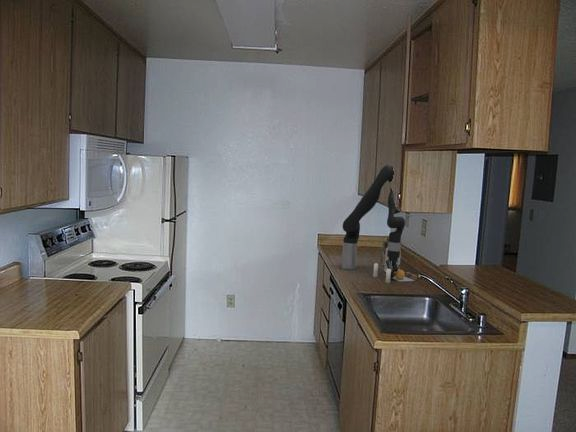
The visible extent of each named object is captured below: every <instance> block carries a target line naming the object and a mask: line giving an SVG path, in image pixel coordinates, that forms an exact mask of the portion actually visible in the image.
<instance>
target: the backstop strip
mask: <svg viewBox="0 0 576 432" xmlns="http://www.w3.org/2000/svg"><path fill="white" fill-rule="evenodd" d="M404 273H405V277H407V278H410V279H412V280H414V281H413V282H416V281H418V275H416V274H413V273H411V272H410V271H404Z"/></svg>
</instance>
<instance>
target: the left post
mask: <svg viewBox="0 0 576 432" xmlns="http://www.w3.org/2000/svg"><path fill="white" fill-rule="evenodd" d="M378 273H379V263H376V262H375V263H373V273H372V276H373V278H378V275H379V274H378Z"/></svg>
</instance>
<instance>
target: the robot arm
mask: <svg viewBox="0 0 576 432" xmlns="http://www.w3.org/2000/svg"><path fill="white" fill-rule="evenodd" d="M393 167H394V166H393V165H389V164H386V165H384V166H383V167H382V168H381V169H380V171H379V172H378V174H377V176H376V178H375V179H374V180H373V182H372V183H371V185H370V186H369V188H368V190H366V192H365V193H364V194H363V196H362V197H361V199H360V201H359V202H358V203H357V204H356V206H355V207H354V209H353V210H352V212H350V214H349V215H348V216H347V217H346V218H345V219H344V221H343V222H342V230H343V231H344V232H345V236H344V237H343V238H342V239H343V241H342V256H341V269H342V270H347V271H348V270H349V271H351V270H353V271H354V270H356V266H357V255H358V252H357V250H358V242H359V241H358V240H359V238H360V231H361V223H360V221H361V219H362V218H364V217H365V216H366V215H367V214H368V213H369V212H370V211H371V210H372V209H374V207H375V205H376V204H377V203H378V202H379V199H380V196H381V191H382V188H383V186H384V185H385V184H386V183H387V181H388V183H389V184H390V182H391V181H392V179H393V175H394V171H393ZM389 189H390V190H389V194H388V196H387V207H388V212H387V213H388V214H387V218H386V219H387V220H386V224H387V225H386V226H387V227H388V228H389V229H395V230H394V231H391V232H389V234H388V242H389V243H388V250H387V257H389V258H388V261H386V264H387V267H388V269H391V277H390V279H392V278H394V277H395V274H394V272H395V271H397V270H398V268H399V267H400V268H401V263H400V264H398V258H399V257H400V258H401V256H400V250H401V242H402V241H401V240H402V234H403V231H404V228H405V226H406V220H405V218H404V217H403V216H395V215H397V214H399V213H400V212H401V210H400V211H398V210H397V209H396V207H395V203H394V194H393V191H392V189H391V187H390V186H389ZM400 268H399V269H400Z"/></svg>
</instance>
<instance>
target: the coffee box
mask: <svg viewBox="0 0 576 432" xmlns="http://www.w3.org/2000/svg"><path fill="white" fill-rule="evenodd" d="M388 243H389V241H382V242H381V256H380V257H381V258H380V265H381V266H384V267H385V254H386V248H387V247H388Z"/></svg>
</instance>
